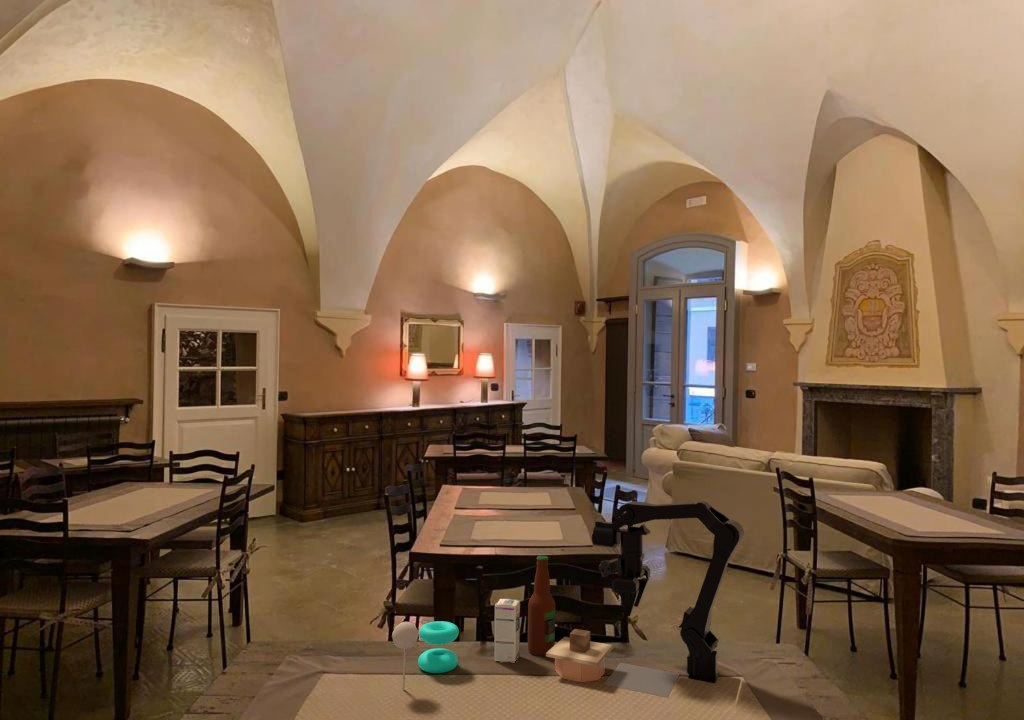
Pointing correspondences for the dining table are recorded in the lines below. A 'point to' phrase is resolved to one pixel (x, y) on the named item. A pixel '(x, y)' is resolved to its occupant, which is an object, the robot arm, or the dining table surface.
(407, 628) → the lollipop
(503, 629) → the syrup box
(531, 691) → the dining table surface
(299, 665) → the dining table surface
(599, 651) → the lid
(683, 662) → the dining table surface
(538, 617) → the bottle
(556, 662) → the bowl
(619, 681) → the mat
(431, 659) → the donuts
